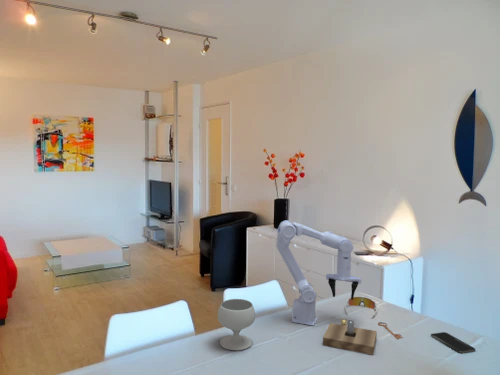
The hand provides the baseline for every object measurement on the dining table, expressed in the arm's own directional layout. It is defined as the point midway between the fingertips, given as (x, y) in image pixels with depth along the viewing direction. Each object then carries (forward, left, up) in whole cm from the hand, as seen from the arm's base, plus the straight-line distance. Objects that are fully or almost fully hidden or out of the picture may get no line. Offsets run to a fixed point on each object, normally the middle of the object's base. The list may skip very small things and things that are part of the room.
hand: (343, 297), depth 167 cm
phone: (+42, -3, -11) cm, 43 cm away
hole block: (+6, -18, -10) cm, 22 cm away
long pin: (+6, -18, -10) cm, 22 cm away
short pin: (+2, -8, -10) cm, 13 cm away
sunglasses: (+6, +15, -11) cm, 20 cm away
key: (+20, -1, -11) cm, 23 cm away
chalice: (-33, -37, -11) cm, 51 cm away
